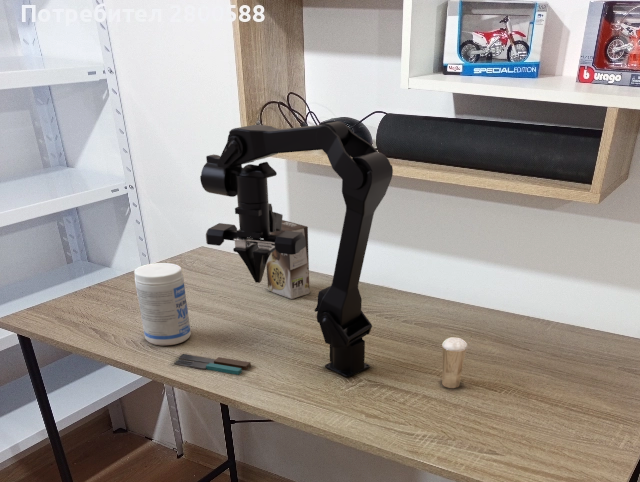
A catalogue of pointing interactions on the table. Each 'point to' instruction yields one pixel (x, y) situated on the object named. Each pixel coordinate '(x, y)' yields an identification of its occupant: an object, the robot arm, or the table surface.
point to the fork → (209, 366)
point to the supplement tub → (162, 303)
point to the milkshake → (453, 361)
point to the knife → (218, 361)
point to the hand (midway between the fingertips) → (258, 282)
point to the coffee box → (289, 267)
